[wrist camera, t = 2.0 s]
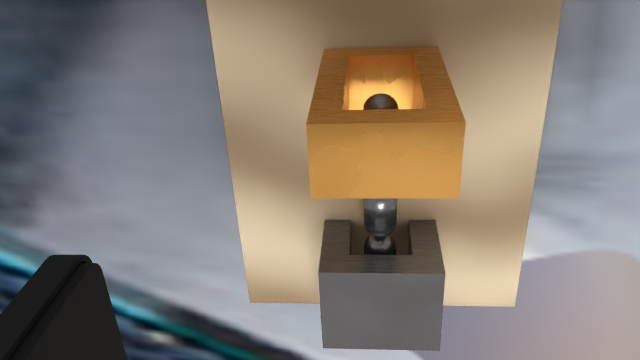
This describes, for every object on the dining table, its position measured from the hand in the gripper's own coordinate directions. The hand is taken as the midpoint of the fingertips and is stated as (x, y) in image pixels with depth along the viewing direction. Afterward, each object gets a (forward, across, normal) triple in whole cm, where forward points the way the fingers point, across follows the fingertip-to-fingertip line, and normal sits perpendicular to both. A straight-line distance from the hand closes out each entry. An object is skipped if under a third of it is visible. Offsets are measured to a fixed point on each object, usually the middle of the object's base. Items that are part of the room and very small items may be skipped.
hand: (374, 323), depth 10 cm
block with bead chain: (+11, 0, +4) cm, 12 cm away
